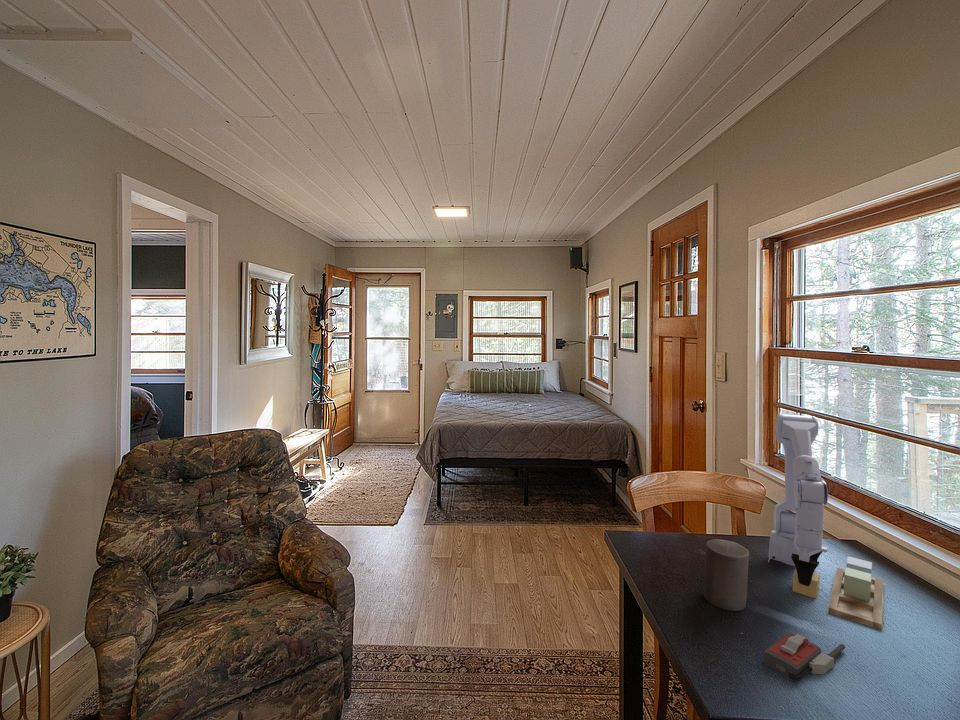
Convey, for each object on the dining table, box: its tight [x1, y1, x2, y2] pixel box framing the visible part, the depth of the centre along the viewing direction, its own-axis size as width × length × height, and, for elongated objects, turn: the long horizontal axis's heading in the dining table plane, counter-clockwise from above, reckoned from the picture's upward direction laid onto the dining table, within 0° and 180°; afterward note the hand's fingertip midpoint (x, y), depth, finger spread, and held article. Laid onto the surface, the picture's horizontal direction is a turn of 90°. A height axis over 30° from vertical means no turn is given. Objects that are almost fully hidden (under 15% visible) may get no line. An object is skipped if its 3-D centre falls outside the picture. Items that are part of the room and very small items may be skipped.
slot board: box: [826, 567, 884, 631], centre depth 115 cm, size 10×26×3 cm, turn 138°
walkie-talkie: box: [762, 632, 846, 682], centre depth 95 cm, size 9×4×20 cm
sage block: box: [844, 566, 872, 602], centre depth 115 cm, size 5×5×6 cm
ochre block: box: [792, 568, 820, 599], centre depth 118 cm, size 5×5×6 cm
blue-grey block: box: [846, 556, 873, 575], centre depth 121 cm, size 5×5×6 cm
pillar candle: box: [702, 538, 750, 612], centre depth 116 cm, size 10×10×15 cm
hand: (806, 578), depth 118 cm, fingers open, 7 cm apart
